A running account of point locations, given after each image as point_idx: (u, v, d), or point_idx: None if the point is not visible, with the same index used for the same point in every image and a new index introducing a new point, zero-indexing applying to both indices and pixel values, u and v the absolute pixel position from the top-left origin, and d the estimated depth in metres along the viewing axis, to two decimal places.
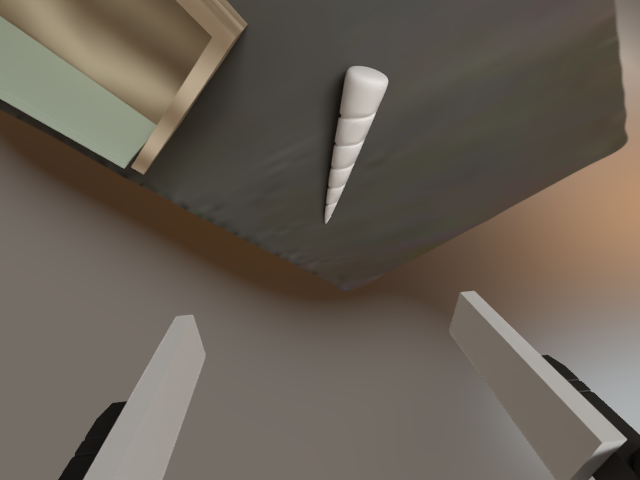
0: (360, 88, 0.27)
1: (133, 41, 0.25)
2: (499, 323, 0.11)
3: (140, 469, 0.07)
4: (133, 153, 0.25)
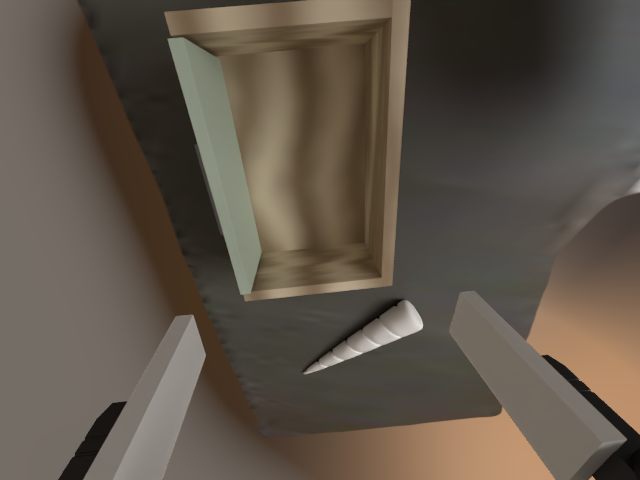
0: (409, 323, 0.37)
1: (303, 210, 0.32)
2: (499, 323, 0.11)
3: (140, 469, 0.07)
4: (252, 283, 0.27)
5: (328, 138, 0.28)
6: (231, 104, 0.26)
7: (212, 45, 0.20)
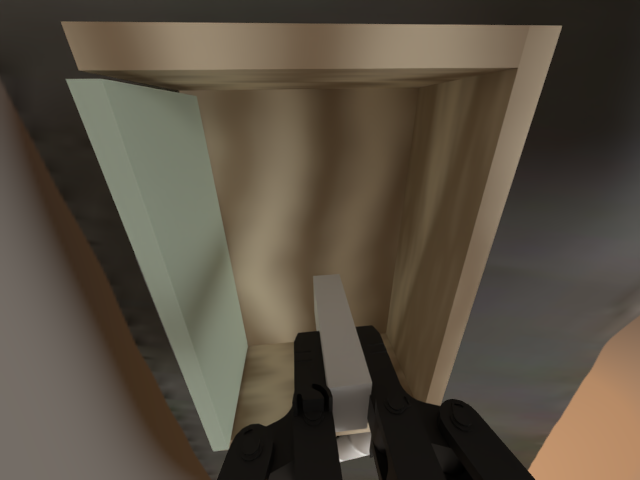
0: None
1: (309, 296, 0.23)
2: (340, 299, 0.12)
3: None
4: (232, 423, 0.18)
5: (352, 209, 0.20)
6: (212, 160, 0.17)
7: (178, 82, 0.11)
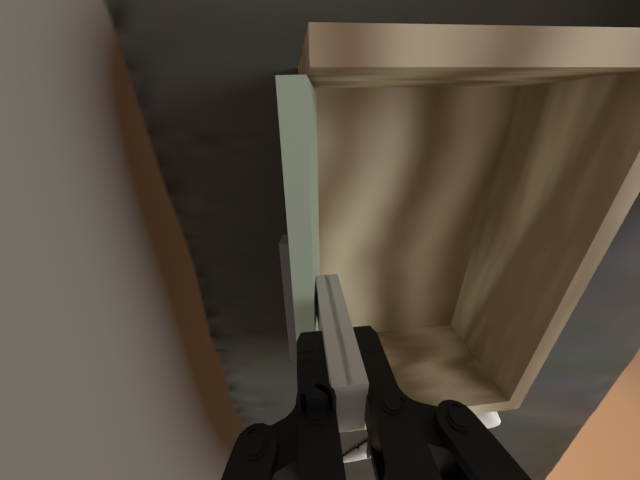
0: (488, 419, 0.30)
1: (385, 288, 0.24)
2: (337, 299, 0.12)
3: None
4: None
5: (439, 203, 0.20)
6: (318, 155, 0.18)
7: (338, 79, 0.12)
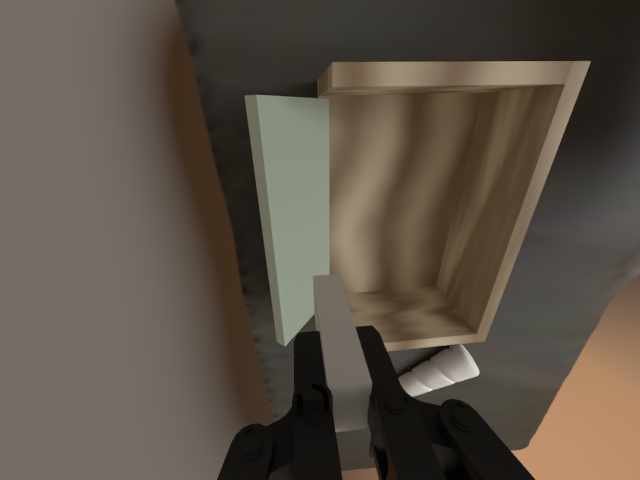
0: (468, 369, 0.36)
1: (382, 252, 0.30)
2: (340, 299, 0.12)
3: None
4: (294, 334, 0.25)
5: (423, 183, 0.26)
6: (331, 144, 0.24)
7: (347, 91, 0.18)
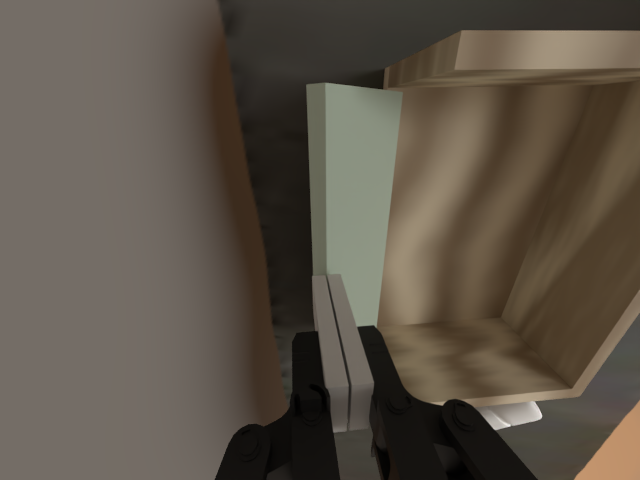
0: (530, 413, 0.31)
1: (442, 280, 0.25)
2: (341, 299, 0.12)
3: None
4: None
5: (504, 198, 0.21)
6: (396, 151, 0.19)
7: (446, 80, 0.13)
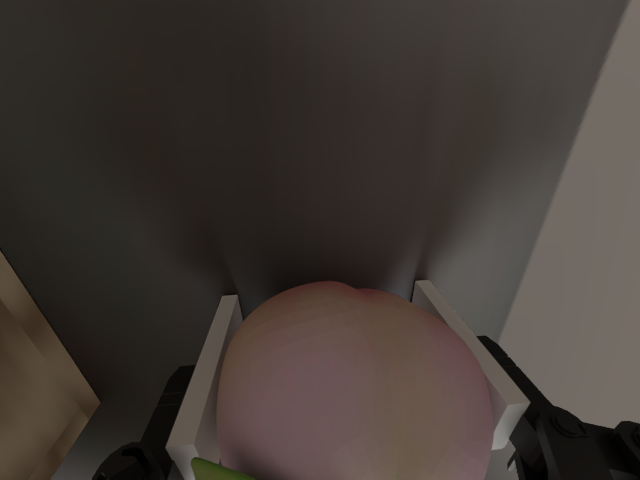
0: None
1: None
2: (444, 307, 0.12)
3: (214, 418, 0.09)
4: None
5: None
6: None
7: None
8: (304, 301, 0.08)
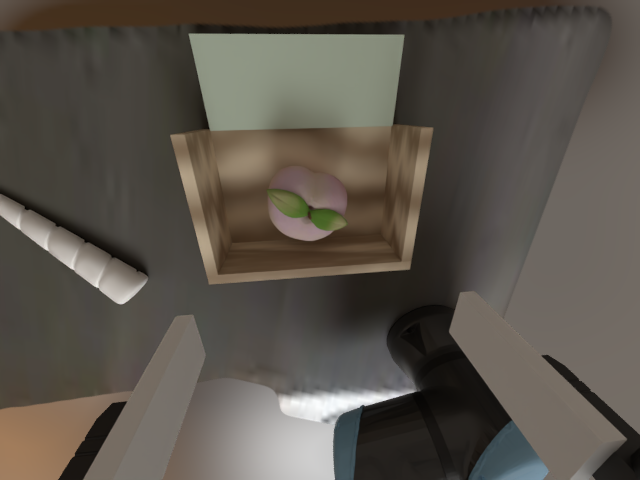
0: (124, 291, 0.34)
1: (265, 188, 0.33)
2: (499, 323, 0.11)
3: (140, 469, 0.07)
4: (194, 53, 0.25)
5: None
6: (358, 135, 0.31)
7: (403, 142, 0.28)
8: None
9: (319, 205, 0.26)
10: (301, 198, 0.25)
